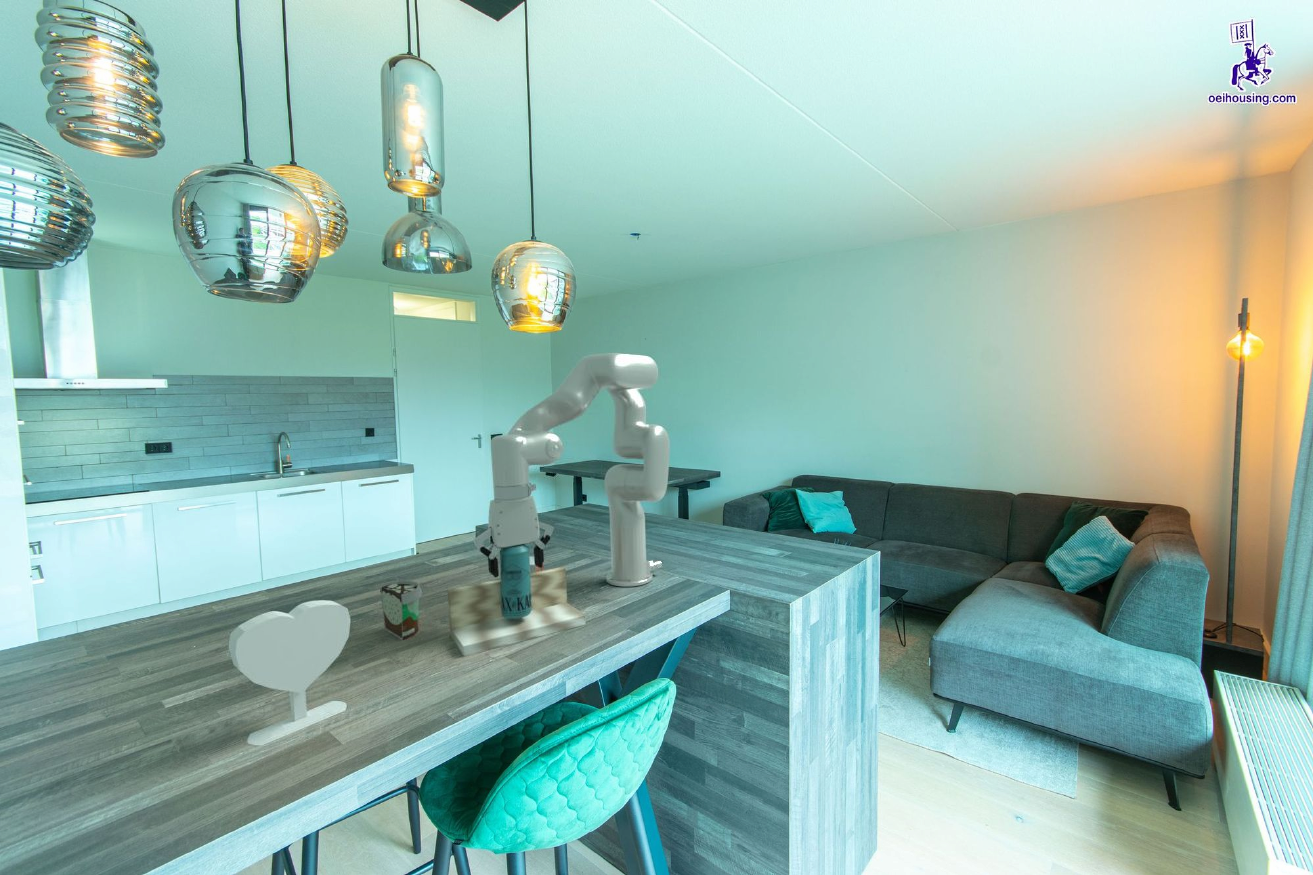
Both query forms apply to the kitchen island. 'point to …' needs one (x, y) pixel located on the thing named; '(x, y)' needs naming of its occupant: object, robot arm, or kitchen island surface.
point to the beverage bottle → (515, 582)
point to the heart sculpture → (291, 658)
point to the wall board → (486, 628)
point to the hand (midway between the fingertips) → (517, 570)
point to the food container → (401, 607)
